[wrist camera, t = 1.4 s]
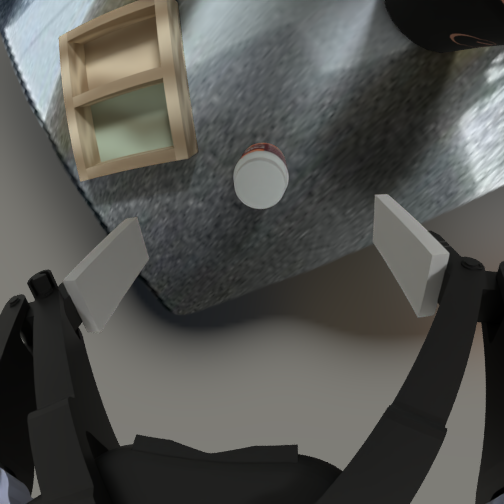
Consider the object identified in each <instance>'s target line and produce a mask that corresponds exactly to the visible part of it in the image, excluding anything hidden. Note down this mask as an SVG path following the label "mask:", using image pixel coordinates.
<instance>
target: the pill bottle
mask: <svg viewBox="0 0 504 504" xmlns="http://www.w3.org/2000/svg"><path fill="white" fill-rule="evenodd" d="M233 181H234V188H235V192H236V194H237V196H238V198H239V199H240V200H241V201H242V202H243V203H244V204H245V205H247V206H249V207H251V208H255V209H266V208H269V207H272V206H274V205H275V204H276V203H278V202H279V201H280V199H281V198H282V196H283V194H284V192H285V190H286V188H287V186H288V181H289V173H288V169H287V165H286V160H285V157H284V155H283V153H282V152H281V151H280V150H279V149H278V148H277V147H276V146H274V145H272V144H269V143H256V144H253V145H251V146H250V147H249V148H247V149H246V150H245V152H244V153H243V154H242V156H241V158H240V159H239V161H238V162H237V164H236V166H235V169H234V173H233Z"/></svg>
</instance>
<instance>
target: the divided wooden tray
mask: <svg viewBox="0 0 504 504" xmlns="http://www.w3.org/2000/svg"><path fill="white" fill-rule="evenodd" d="M59 50H60V65H61V76H62V85H63V93H64V101H65V108H66V114H67V120H68V126H69V132H70V137H71V142H72V147H73V152H74V156H75V161H76V165H77V169H78V174H79V178H80V182H81V181H85V180H89V179H92V178H96V177H100V176H105V175H109V174H113V173H117V172H122V171H126V170H131V169H135V168H140V167H145V166H150V165H155V164H161V163H166V162H172V161H177V160H183V159H189V158H190V157H191V156H193V155H194V154H196V153H197V152H198V146H197V140H196V134H195V127H194V121H193V114H192V108H191V101H190V94H189V87H188V80H187V73H186V65H185V58H184V50H183V42H182V34H181V25H180V17H179V8H178V3H177V2H176V1H175V0H139V1H136V2H133V3H130V4H128V5H125V6H123V7H120V8H118V9H115V10H113V11H110V12H108V13H106V14H103V15H101V16H99V17H97V18H95V19H93V20H90V21H88V22H86V23H84V24H82V25H80V26H78V27H76V28H75V29H73V30H71V31H69V32H67V33H65V34H63V35H62V36H60V37H59Z"/></svg>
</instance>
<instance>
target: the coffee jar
mask: <svg viewBox="0 0 504 504" xmlns="http://www.w3.org/2000/svg"><path fill="white" fill-rule="evenodd" d="M385 4H386V9H387V11H388V13H389V15H390V17H391V19H392V21H393V22H394V23H395V24H396V26H397V27H398V28H399V29H400V31H401V32H402V33H403V34H404V35H406V36H407V37H408V38H409V39H410V40H411V41H413V42H414V43H416V44H418V45H420V46H422V47H423V48H425V49H427V50H431V51H435V52H439V53H443V52H452V51H458V50H464V49H471V48H478V47H487V46H497V45H504V0H385Z"/></svg>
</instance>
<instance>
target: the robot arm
mask: <svg viewBox="0 0 504 504" xmlns="http://www.w3.org/2000/svg"><path fill="white" fill-rule="evenodd" d="M373 243H374V244H375V246H376V247H377V249H378V251H379V252H380V254H381V255H382V257H383V258H384V260H385V262H386V263H387V265H388V267H389V268H390V270H391V271H392V273H393V275H394V276H395V278H396V280H397V281H398V283H399V285H400V287H401V288H402V290H403V292H404V294H405V295H406V297H407V299H408V301H409V302H410V304H411V306H412V307H413V309H414V311H415V313H416V315H417V317H418V318H420V317H425V316H431V315H434V313H435V310H436V307H437V303H439V305H440V306H439V308H438V311H437V313H436V316H435V318H434V321H433V323H432V326H431V328H430V330H429V333H428V335H427V337H426V339H425V342H424V344H423V346H422V348H421V350H420V352H419V355H418V357H417V359H416V361H415V363H414V365H413V367H412V369H411V371H410V372H409V375H408V376H407V379H406V380H405V382H404V384H403V386H402V388H401V389H400V391H399V393H398V395H397V396H396V398H395V400H394V401H393V403H392V404H391V405H389V407H388V408H387V410H386V411H385V413H384V414H383V416H382V417H381V419H380V420H379V422H378V423H377V425H376V426H375V428H374V429H373V431H372V433H371V434H370V435H369V437H368V438H367V440H366V441H365V443H364V444H363V445H362V447H361V448H360V449H359V451H358V452H357V454H356V455H355V456H354V458H353V459H352V460H351V462H350V463H349V464H348V466H347V467H346V468H345V469H344V471H342V470H340V469H339V468H337V467H336V466H334V465H331V464H329V463H328V462H325V461H323V460H320V459H317V458H314V457H310V456H306V455H300V454H298V445H281V446H251V447H247V448H242V449H236V450H231V451H225V452H219V453H205V452H202V451H199V450H196V449H193V448H191V447H188V446H185V445H182V444H180V443H177V442H174V441H172V440H166V439H159V438H153V437H146V436H142V435H136V437H135V440H134V443H133V444H132V445H125V446H120V445H119V443H118V441H117V439H116V437H115V434H114V432H113V429H112V427H111V424H110V422H109V419H108V416H107V414H106V411H105V409H104V406H103V403H102V400H101V397H100V394H99V391H98V388H97V386H96V382H95V379H94V376H93V373H92V369H91V366H90V362H89V359H88V355H87V352H86V348H85V344H84V340H83V336H82V333H81V331H80V329H79V328H78V327H79V326H80V324H81V323H82V322H83V324H84V326H85V328H86V330H87V332H93V333H101V331H102V330H103V328H104V326H105V325H106V323H107V322H108V320H109V319H110V317H111V315H112V314H113V312H114V311H115V309H116V307H117V306H118V305H119V303H120V301H121V300H122V298H123V297H124V295H125V294H126V292H127V291H128V289H129V288H130V286H131V285H132V283H133V282H134V280H135V279H136V278H137V276H138V275H139V273H140V272H141V270H142V269H143V267H144V266H145V265H146V263H147V262H148V260H149V256H148V253H147V249H146V246H145V243H144V239H143V236H142V232H141V229H140V225H139V221H138V218H137V217H133V218H126V219H125V220H124V221H123V222H122V223H121V224H120V225H118V226H117V227H116V228H115V229H114V230H113V231H112V232H111V233H110V234H109V235H108V236H107V237H106V238H104V239H103V241H101V242H100V243H99V244H98V245H97V246H96V247H95V248H94V249H93V250H92V251H91V252H90V253H89V254H88V255H87V256H86V257H85V258H84V259H83V260H82V261H81V262H80V263H79V264H78V265H77V266H76V267H75V268H74V269H73V270H72V271H71V272H70V274H68V275H67V276H66V278H65V279H64V280H63V283H61V284H60V285H59V286H57V284H56V281H55V279H54V277H53V275H52V272H51V271H50V270H43V271H41V272H39V273H37V274H35V275H34V276H32V277H31V278H30V279H29V280H28V283H27V284H28V286H29V288H30V290H31V292H32V294H33V296H34V298H35V301H34V302H30V303H28V302H27V300H26V298H25V296H24V295H22V294H21V295H17V296H14V297H12V298H11V299H10V300H9V301H8V302H7V303H6V305H5V307H4V309H3V311H2V313H1V315H0V504H410V502H411V501H412V499H413V498H414V496H415V494H416V493H417V491H418V489H419V488H420V486H421V484H422V482H423V481H424V479H425V477H426V475H427V473H428V471H429V470H430V468H431V465H432V464H433V462H434V460H435V458H436V456H437V454H438V451H439V449H440V447H441V445H442V443H443V441H444V438H445V435H446V432H447V428H445V425H446V422H447V419H448V417H449V415H450V412H451V410H452V407H453V404H454V402H455V399H456V396H457V393H458V390H459V387H460V384H461V381H462V378H463V375H464V372H465V368H466V365H467V361H468V358H469V354H470V350H471V346H472V342H473V338H474V334H475V329H476V324H477V322H481V324H482V332H483V342H484V354H485V372H486V413H485V430H484V441H483V451H482V459H481V465H480V472H479V477H478V485H477V491H476V503H475V504H504V261H503V262H501V263H500V265H499V269H498V272H491V271H485V268H484V266H483V265H482V263H480V262H479V261H477V260H476V259H473V258H470V257H461V256H460V255H459V254H458V253H457V252H456V251H455V250H454V249H453V248H452V247H451V246H449V244H448V243H447V242H445V240H444V239H443V238H442V237H441V236H440V235H438V234H436V233H434V232H432V231H427V230H426V229H425V228H424V227H423V226H422V225H421V224H420V223H419V222H418V221H417V220H416V219H415V218H413V217H412V216H411V215H410V214H409V213H408V212H407V211H406V210H405V209H404V208H403V207H402V206H400V205H399V204H398V203H397V202H396V201H395V200H394V199H393V198H391V197H390V196H389V195H388V194H383V195H375V206H374V228H373ZM21 338H22V339H21ZM22 340H23V341H24V343H23V341H22ZM34 466H35V470H36V475H37V479H38V483H39V487H40V491H41V495H39V496H38V497H36V498H34V499H33V498H32V497H31V493H32V488H33V480H34Z"/></svg>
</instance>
